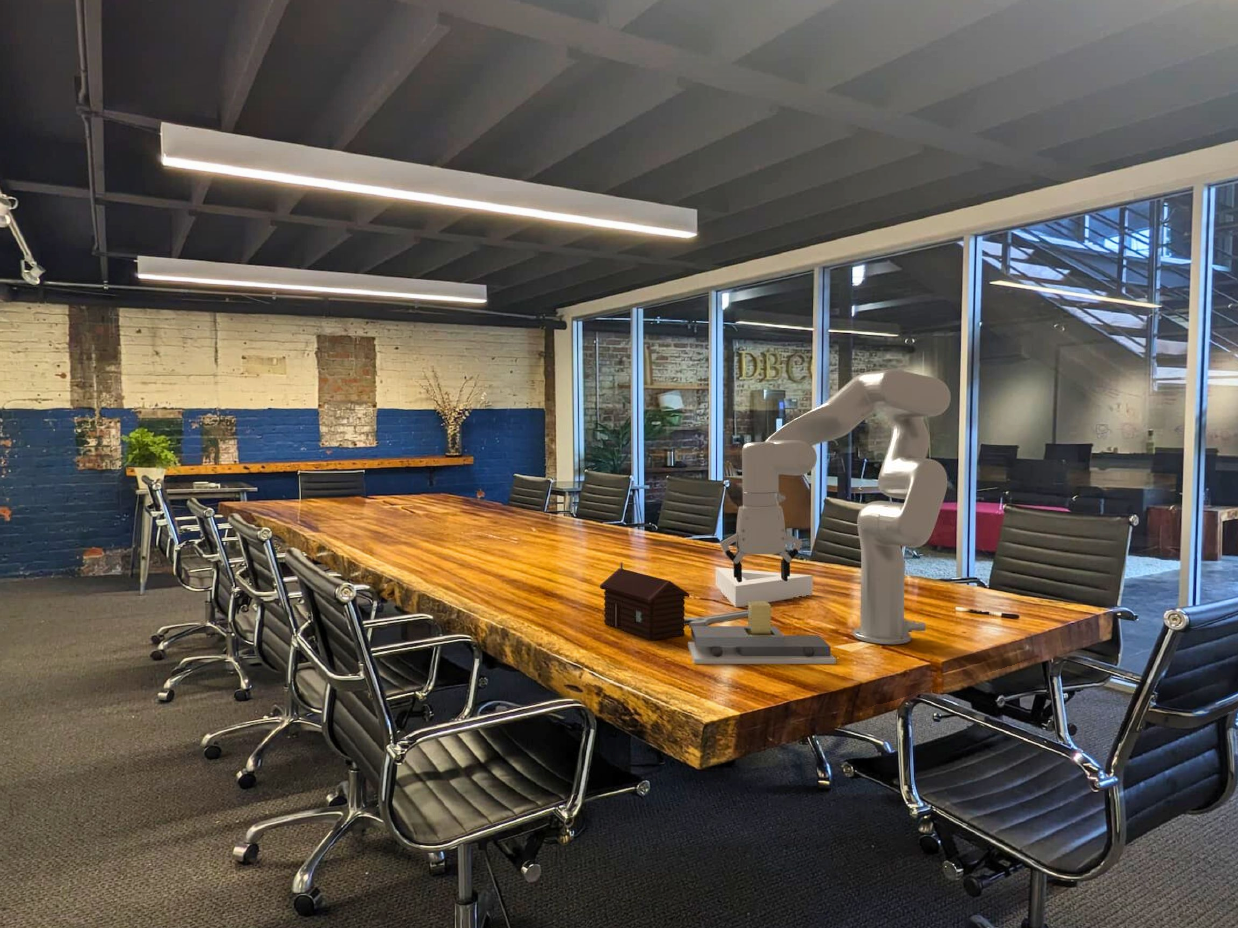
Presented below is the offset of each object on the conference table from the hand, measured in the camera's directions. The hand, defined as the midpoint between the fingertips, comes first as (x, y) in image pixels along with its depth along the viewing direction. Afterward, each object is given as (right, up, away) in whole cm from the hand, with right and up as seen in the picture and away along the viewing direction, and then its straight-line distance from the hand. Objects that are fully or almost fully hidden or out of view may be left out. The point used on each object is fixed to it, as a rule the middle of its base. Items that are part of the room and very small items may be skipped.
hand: (761, 580), depth 163 cm
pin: (-1, -15, 0) cm, 15 cm away
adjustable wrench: (-5, -15, +31) cm, 34 cm away
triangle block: (+7, -14, +65) cm, 67 cm away
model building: (-24, -15, +22) cm, 36 cm away
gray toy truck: (-1, -16, 0) cm, 16 cm away
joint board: (-1, -16, 0) cm, 16 cm away
